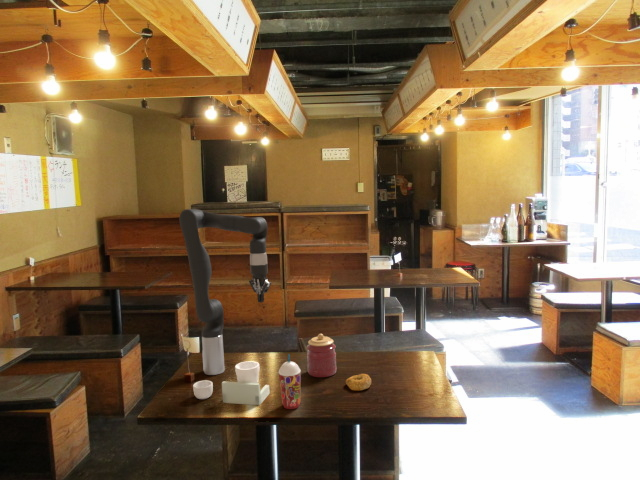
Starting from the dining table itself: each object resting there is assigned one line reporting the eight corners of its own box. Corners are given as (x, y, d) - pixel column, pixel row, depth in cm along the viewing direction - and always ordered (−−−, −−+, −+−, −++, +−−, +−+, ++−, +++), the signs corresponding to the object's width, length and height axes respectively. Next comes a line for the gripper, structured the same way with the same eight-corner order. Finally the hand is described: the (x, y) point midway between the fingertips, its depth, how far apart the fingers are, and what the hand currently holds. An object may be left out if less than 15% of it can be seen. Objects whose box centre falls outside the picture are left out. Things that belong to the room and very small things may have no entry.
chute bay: (234, 391, 200) (233, 372, 200) (269, 393, 197) (268, 374, 196) (223, 402, 190) (221, 382, 189) (259, 405, 186) (258, 385, 185)
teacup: (212, 400, 193) (211, 387, 192) (192, 401, 192) (191, 388, 191) (215, 390, 203) (214, 377, 202) (196, 391, 202) (195, 379, 201)
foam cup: (264, 392, 197) (262, 361, 196) (256, 402, 188) (254, 370, 187) (242, 391, 200) (240, 360, 198) (233, 401, 191) (231, 369, 190)
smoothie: (299, 411, 179) (296, 358, 177) (277, 410, 181) (274, 358, 179) (304, 401, 187) (302, 351, 185) (283, 400, 189) (281, 350, 187)
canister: (337, 377, 210) (335, 337, 209) (307, 378, 211) (305, 338, 209) (336, 366, 223) (334, 329, 222) (308, 367, 224) (306, 330, 222)
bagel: (355, 379, 208) (355, 368, 207) (376, 385, 200) (376, 374, 200) (340, 387, 200) (340, 376, 200) (361, 394, 193) (361, 382, 192)
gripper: (242, 263, 214) (245, 302, 216) (261, 265, 205) (263, 305, 207) (256, 261, 219) (258, 298, 221) (275, 263, 210) (277, 302, 212)
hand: (261, 302), depth 214 cm, fingers closed
